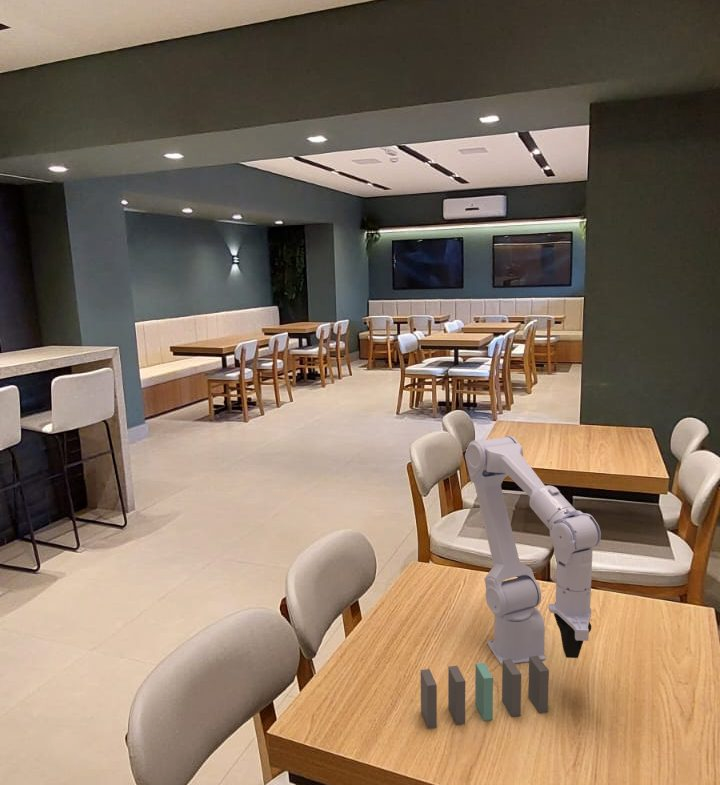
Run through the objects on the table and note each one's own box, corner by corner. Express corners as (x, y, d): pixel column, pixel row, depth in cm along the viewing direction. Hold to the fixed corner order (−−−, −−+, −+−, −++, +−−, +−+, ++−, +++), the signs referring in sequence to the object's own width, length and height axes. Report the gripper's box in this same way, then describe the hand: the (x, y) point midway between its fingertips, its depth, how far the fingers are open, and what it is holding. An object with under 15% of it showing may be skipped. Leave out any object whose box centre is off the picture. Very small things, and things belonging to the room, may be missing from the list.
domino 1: (429, 710, 108) (429, 668, 107) (436, 727, 104) (436, 684, 102) (420, 711, 108) (420, 670, 106) (427, 728, 103) (427, 685, 102)
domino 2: (456, 706, 109) (457, 665, 107) (465, 723, 104) (465, 681, 103) (448, 707, 108) (448, 666, 107) (456, 724, 104) (456, 682, 103)
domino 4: (536, 695, 111) (537, 655, 110) (547, 712, 107) (548, 670, 105) (528, 697, 111) (529, 656, 109) (539, 713, 106) (540, 671, 105)
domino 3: (510, 699, 110) (511, 658, 109) (520, 715, 106) (521, 673, 105) (501, 700, 110) (502, 659, 109) (511, 717, 106) (512, 675, 104)
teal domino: (483, 703, 109) (484, 662, 108) (492, 719, 105) (493, 677, 104) (475, 704, 109) (475, 663, 108) (483, 721, 105) (484, 678, 104)
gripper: (542, 564, 113) (540, 632, 116) (557, 603, 99) (555, 680, 101) (581, 565, 113) (579, 633, 115) (603, 605, 98) (599, 682, 101)
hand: (571, 655), depth 108 cm, fingers closed
